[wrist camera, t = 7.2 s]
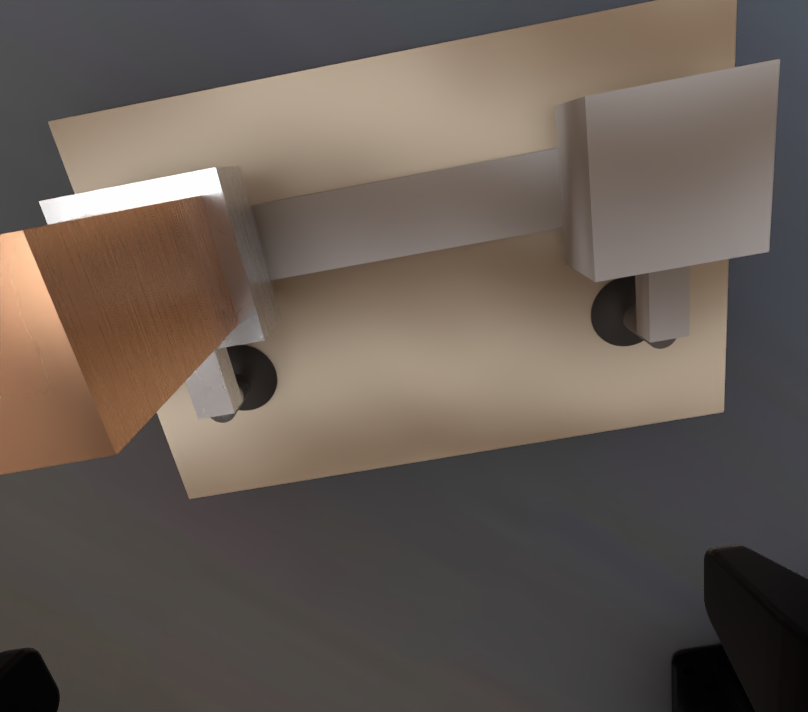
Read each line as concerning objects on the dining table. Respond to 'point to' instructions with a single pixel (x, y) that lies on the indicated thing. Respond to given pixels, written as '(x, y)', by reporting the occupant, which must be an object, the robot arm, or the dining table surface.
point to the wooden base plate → (471, 237)
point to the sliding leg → (127, 313)
